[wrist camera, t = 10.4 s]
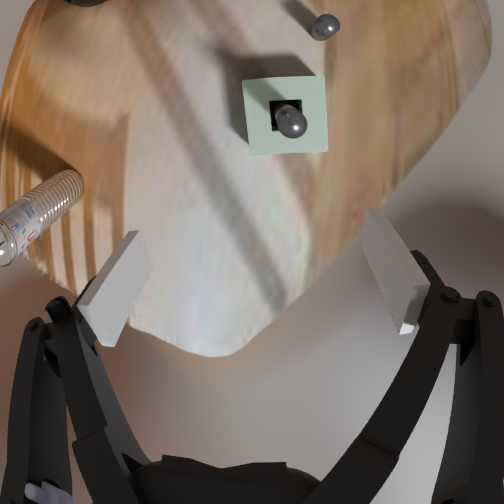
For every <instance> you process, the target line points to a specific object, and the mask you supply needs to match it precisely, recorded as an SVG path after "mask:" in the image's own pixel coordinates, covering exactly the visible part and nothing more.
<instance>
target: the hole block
mask: <svg viewBox="0 0 504 504" xmlns="http://www.w3.org/2000/svg"><path fill="white" fill-rule="evenodd" d="M242 88H243V96H244V105H245V113H246V122H247V131H248V140H249V148H250V156H256V155H269V154H284V153H304V152H328V133H327V111H326V94H325V80H324V76H293V77H273V78H260V79H249V80H242ZM294 99H298V109H299V112H301V113H302V114H303V115H304V116H305V118H306V120H307V124H308V126H307V130H306V132H305V133H304V134H303V135H302V136H301V137H299V138H296V139H290V138H287V137H285V136H283V135H282V134H281V133H280V131H279V129H278V126H271V117H270V106H269V101H275V100H294Z"/></svg>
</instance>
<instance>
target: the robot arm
mask: <svg viewBox="0 0 504 504" xmlns="http://www.w3.org/2000/svg"><path fill="white" fill-rule="evenodd" d="M64 1H66V2H67V3H69V4H72V5H76V6H80V7H89V6H94V5H98V4H100V3H103V2H105V1H107V0H64ZM363 252H364V254H365V256H366V258H367V260H368V262H369V265H370V267H371V269H372V271H373V273H374V276H375V278H376V280H377V283H378V285H379V287H380V289H381V292H382V294H383V296H384V299H385V301H386V303H387V306H388V308H389V311H390V313H391V315H392V318H393V321H394V323H395V326H396V328H397V331H398V334H399V335H400V334H406V333H411V332H414V331H415V328H416V325H417V323H418V325H419V327H420V328H419V330H418V333H417V335H416V337H415V339H414V341H413V343H412V345H411V347H410V350H409V352H408V354H407V356H406V358H405V359H404V361H403V363H402V365H401V367H400V369H399V371H398V373H397V375H396V376H395V378H394V380H393V382H392V384H391V385H390V387H389V389H388V390H387V392H386V394H385V396H384V397H383V399H382V401H381V402H380V404H379V405H378V407H377V409H376V410H375V412H374V413H373V415H372V416H371V418H370V419H369V421H368V423H367V424H366V425H365V427H364V428H363V430H362V431H361V433H360V434H359V435H358V436H357V438H356V439H355V440H354V441H353V443H352V444H351V445H350V447H349V448H348V449H347V451H346V452H345V453H344V455H343V456H342V457H341V458H340V460H339V461H338V462H337V464H336V465H335V466H334V467H333V468H332V470H331V471H330V472H329V473H328V475H327V476H326V477H325V478H324V479H323V480H322V481H319V480H318V479H316V478H315V477H313V476H312V475H310V474H308V473H305V472H303V471H301V470H297V469H294V468H288V467H287V466H286V462H271V463H250V464H245V465H239V466H234V467H228V468H216V467H214V466H210V465H207V464H204V463H201V462H199V461H196V460H193V459H191V458H183V457H176V456H169V455H163V456H162V460H161V461H156V462H151V461H150V460H149V459H148V458H147V457H146V455H145V454H144V453H143V451H142V450H141V448H140V446H139V444H138V442H137V440H136V438H135V436H134V434H133V433H132V430H131V429H130V426H129V424H128V422H127V420H126V418H125V416H124V414H123V412H122V409H121V407H120V405H119V403H118V400H117V398H116V395H115V393H114V391H113V388H112V386H111V383H110V381H109V378H108V376H107V373H106V370H105V368H104V365H103V362H102V360H101V357H100V354H99V351H98V348H97V347H96V345H95V344H94V343H95V341H96V339H98V340H99V341H100V343H101V344H102V346H111V347H115V344H116V342H117V340H118V338H119V335H120V333H121V331H122V329H123V327H124V324H125V323H126V320H127V318H128V316H129V314H130V312H131V310H132V308H133V306H134V304H135V302H136V300H137V298H138V296H139V294H140V292H141V290H142V288H143V286H144V284H145V282H146V280H147V278H148V276H149V274H150V272H151V270H152V268H153V266H152V263H151V260H150V258H149V255H148V252H147V249H146V246H145V244H144V241H143V238H142V235H141V232H140V230H136V231H129V232H128V234H127V235H126V236H125V238H124V239H123V240H122V241H121V243H120V244H119V245H118V247H117V248H116V249H115V251H114V252H113V253H112V255H111V256H110V258H109V259H108V260H107V262H106V263H105V264H104V266H103V267H102V269H101V270H100V271H99V273H98V274H97V275H96V276H95V277H93V278H92V279H91V280H90V281H89V282H88V284H87V285H86V287H85V289H83V291H82V292H81V294H80V295H79V297H78V298H77V300H76V301H75V303H74V305H73V306H72V308H71V307H70V306H69V304H68V302H67V300H66V298H65V297H63V296H59V297H56V298H54V299H53V300H51V301H50V302H49V303H48V304H47V305H46V307H45V312H46V314H47V316H48V317H49V319H50V320H51V321H52V322H51V323H47V324H45V322H44V321H43V320H42V318H40V317H37V318H34V319H32V320H31V321H29V322H28V324H27V325H26V327H25V330H24V334H23V338H22V342H21V346H20V350H19V355H18V359H17V365H16V370H15V375H14V381H13V388H12V394H11V402H10V411H9V422H8V439H7V464H6V469H5V474H4V479H3V483H2V489H1V495H0V504H77V503H75V502H74V500H73V498H72V477H71V468H70V460H69V451H68V438H67V418H66V417H67V416H66V402H67V406H68V410H69V413H70V417H71V421H72V424H73V428H74V431H75V434H76V437H77V440H76V441H74V442H73V443H72V448H73V452H74V455H75V458H76V461H77V463H78V466H79V469H80V472H81V474H82V477H83V479H84V482H85V484H86V487H87V489H88V491H89V494H90V496H91V498H92V500H93V503H92V504H369V503H370V502H371V501H372V499H373V498H374V497H375V495H376V494H377V493H378V491H379V490H380V488H381V487H382V486H383V484H384V483H385V481H386V480H387V478H388V477H389V475H390V474H391V472H392V470H393V469H394V467H395V466H396V464H397V462H398V459H399V455H400V452H401V451H402V449H403V447H404V445H405V444H406V442H407V440H408V439H409V437H410V435H411V433H412V431H413V429H414V427H415V425H416V423H417V422H418V419H419V418H420V416H421V413H422V411H423V409H424V407H425V405H426V403H427V401H428V398H429V396H430V394H431V392H432V389H433V387H434V385H435V382H436V380H437V377H438V375H439V372H440V370H441V367H442V364H443V362H444V359H445V356H446V353H447V350H448V347H449V344H457V353H456V372H455V384H454V394H453V403H452V410H451V417H450V424H449V429H448V435H447V440H446V445H445V450H444V454H443V458H442V462H441V466H440V470H439V474H438V477H437V481H436V484H435V488H434V492H433V495H432V500H431V504H504V484H503V480H504V317H503V311H502V306H501V302H500V300H499V298H498V297H497V296H496V295H495V294H494V293H492V292H489V291H480V292H479V293H478V294H477V296H476V298H475V299H467V298H462V297H461V295H460V293H458V292H457V291H456V290H455V289H453V288H451V287H447V286H445V285H444V283H443V282H442V280H441V279H440V277H439V276H438V274H437V273H436V271H435V270H434V269H433V267H432V265H431V264H429V261H428V260H427V258H426V257H425V256H424V255H423V254H422V253H420V252H419V251H418V250H414V251H409V250H408V248H407V247H406V245H405V244H404V243H403V241H402V240H401V238H400V237H399V235H398V234H397V233H396V231H395V230H394V229H393V227H392V226H391V224H390V223H389V222H388V220H387V219H386V217H385V216H384V215H383V214H382V212H381V211H380V210H379V208H376V209H366V219H365V233H364V245H363ZM44 358H45V361H44Z"/></svg>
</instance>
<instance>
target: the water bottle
mask: <svg viewBox="0 0 504 504" xmlns="http://www.w3.org/2000/svg"><path fill="white" fill-rule="evenodd" d="M83 194H84V183H83V180H82V178H81V176H80V175H79V174H78V173H77V172H76V171H74V170H72V169H65V170H62V171H60V172H58V173H57V174H55V175H53V176H52V177H50V178H49V179H47V180H45V181H44V182H42V183H41V184H39V185H38V186H36V187H34V188H33V189H31V190H30V191H29V192H27V193H26V194H24V195H23V196H21V197H20V198H19V199H18V200H17V201H15V202H14V203H13V204H11V205H10V206H9V207H7V208H6V209H5V210H3V211H2V212H1V213H0V267H7V266H9V265H10V264H11V263H12V262H13V261H14V260H15V259H16V257H17V256H18V255H19V254H20V253H21V252H22V251H23V250H24V249H25V248H26V247H27V246H28V245H29V244H30V243H31V242H32V241H33V240H34V239H35V238H36V237H38V236H40V235H41V234H42V233H43V232H44V231H45V230H46V229H47V228H48V227H49V226H51V225H52V224H53V223H54V222H55V221H56V220H57V219H58V218H60V217H61V216H62V215H63V214H64V213H66V212H67V211H68V210H69V209H70V208H71V207H73V206H74V205H75V204H76V203H77V202H78V201H79V200H80V199H81V198H82V196H83Z"/></svg>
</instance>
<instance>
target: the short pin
mask: <svg viewBox="0 0 504 504" xmlns="http://www.w3.org/2000/svg"><path fill="white" fill-rule="evenodd" d="M339 28H340V23H339V21H338V19H337V18H336V17H334V16H333V15H330V14H324V15H321V16H320V17H319V18H318V19H317V20H316V21H315V23H314V24H313V25H312V27H311V28H310V34H311V36H312V37H313V38H314V39H315V40H318V41H324V40H326V39H328V38H329V37H331V36H332V35H333V34H335V33H336V32H337V31H338V30H339Z"/></svg>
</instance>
